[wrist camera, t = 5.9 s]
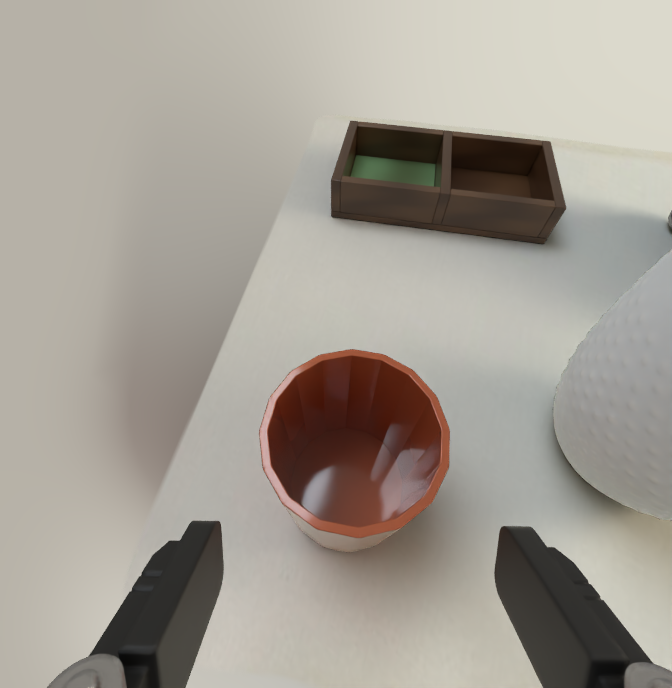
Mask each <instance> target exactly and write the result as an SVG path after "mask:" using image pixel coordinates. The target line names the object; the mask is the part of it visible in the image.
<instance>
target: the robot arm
mask: <svg viewBox="0 0 672 688" xmlns="http://www.w3.org/2000/svg"><path fill="white" fill-rule="evenodd" d="M223 570H224V564H223V549H222V533H221V524H220V522H219V521H192V522H191V523H190V524H189V526H188V528H187V529H186V531H185V533H184V535H183V536H182V538H181V540H180V541H169V542H168V543H166V544H165V545H164V546H163V547H162V548H161V549H160V550H158V551H157V552H156V553H155V554H154V555H153V556H152V557H151V559H150V561H149V562H148V564H147V565H146V567H145V568H144V570H143V572H142V575H141V576H139V578H138V580H137V581H136V583H135V584H134V586H133V587H132V591H131V592H129V594H128V595H127V597H126V599H125V600H124V602H123V603H122V605H121V606H120V608H119V610H118V611H117V613H116V614H115V616H114V618H113V619H112V621H111V622H110V624H109V626H108V627H107V629H106V631H105V632H104V633H103V635H102V637H101V638H100V640H99V641H98V643H97V645H96V646H95V648H94V650H93V651H92V653H91V654H90V655H89V656H88V657H86V658H84V659H82V660H80V661H78V662H76V663H74V664H73V665H71V666H70V667H68V668H67V669H66V670H64V671H63V672H62V673H61V674H59V675H58V676H57V677H56V678H55V679H54V680H53V681H52V682H51V683H50V685H49V686H48V687H47V688H185V687H186V684H187V681H188V679H189V676H190V673H191V670H192V668H193V665H194V662H195V659H196V657H197V654H198V651H199V648H200V645H201V643H202V640H203V637H204V634H205V631H206V629H207V626H208V623H209V620H210V618H211V615H212V612H213V609H214V606H215V604H216V601H217V598H218V595H219V592H220V589H221V585H222V579H223ZM495 583H496V588H497V592H498V595H499V597H500V599H501V601H502V604H503V606H504V608H505V610H506V612H507V614H508V616H509V618H510V620H511V622H512V624H513V626H514V628H515V630H516V633H517V635H518V637H519V639H520V641H521V643H522V645H523V647H524V649H525V651H526V653H527V655H528V657H529V659H530V661H531V664H532V666H533V668H534V670H535V672H536V674H537V676H538V678H539V680H540V682H541V684H542V686H543V688H672V672H671V671H669V670H667V669H665V668H663V667H661V666H658V665H655V664H653V663H652V661H651V660H650V659H649V658H648V656H647V655H646V654H645V653H644V651H643V650H642V649H641V648H640V646H639V645H638V644H637V642H636V641H635V640H634V639H633V637H632V636H631V635H630V634H629V632H628V631H627V630H626V628H625V627H624V626H623V625H622V623H621V622H620V621H619V620H618V618H617V617H616V616H615V614H614V613H613V612H612V611H611V609H610V608H609V607H608V606H607V604H606V603H605V602H604V600H601V599H600V595H599V594H598V593H597V592H596V590H595V589H594V588H593V586H592V585H591V584H589V583H588V580H587V579H586V578H585V576H584V575H583V574H582V573H581V571H580V570H579V569H578V567H577V566H576V565H575V564H574V563H573V562H572V561H571V560H570V559H568V558H567V557H566V556H565V555H563V554H562V553H561V552H559V551H558V550H557V549H556V548H554V547H547V546H546V545H545V544H544V542H543V541H542V540H541V538H540V537H539V536H538V534H537V533H536V532H535V530H534V529H533V528H531V527H521V526H503V527H502V528H501V529H500V533H499V541H498V548H497V556H496V564H495Z"/></svg>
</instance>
